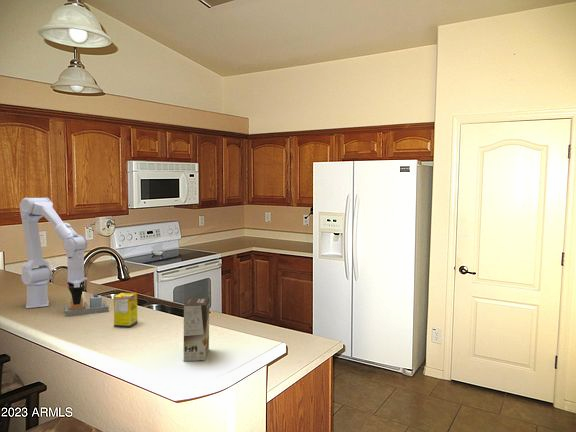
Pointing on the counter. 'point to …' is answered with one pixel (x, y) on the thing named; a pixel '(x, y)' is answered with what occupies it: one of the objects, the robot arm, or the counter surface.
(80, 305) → the orange plug
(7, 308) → the counter surface
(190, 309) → the coffee box
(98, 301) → the seated plug
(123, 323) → the supplement box
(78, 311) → the e-shaped shelf rack
